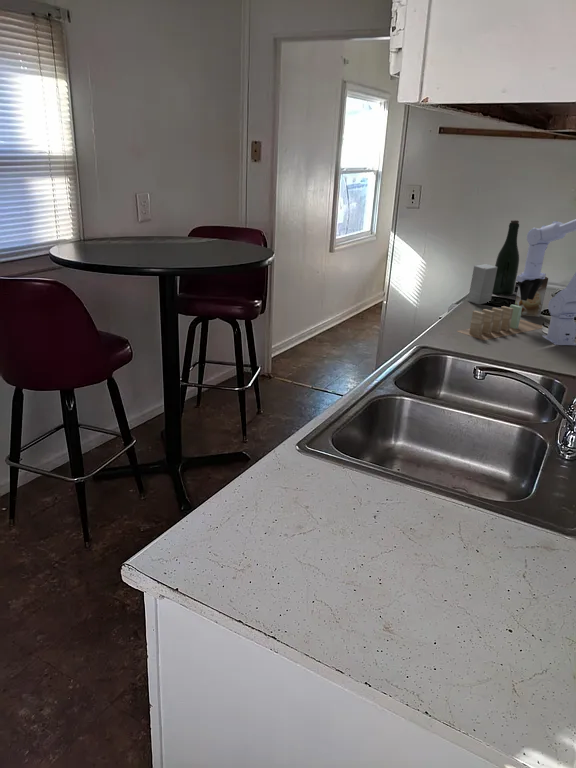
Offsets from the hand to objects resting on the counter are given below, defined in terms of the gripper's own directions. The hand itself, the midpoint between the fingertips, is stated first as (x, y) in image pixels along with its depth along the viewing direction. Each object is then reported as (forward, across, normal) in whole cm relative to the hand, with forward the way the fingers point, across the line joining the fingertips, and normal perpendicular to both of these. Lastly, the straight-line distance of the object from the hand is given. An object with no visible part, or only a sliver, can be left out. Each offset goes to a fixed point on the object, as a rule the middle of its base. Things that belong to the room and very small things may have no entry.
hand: (526, 299), depth 220 cm
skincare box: (+11, -18, -34) cm, 39 cm away
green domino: (+10, +6, 0) cm, 11 cm away
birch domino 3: (+10, +16, 0) cm, 19 cm away
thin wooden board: (+10, +11, 0) cm, 15 cm away
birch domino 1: (+10, +27, 0) cm, 28 cm away
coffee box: (+11, -17, -10) cm, 22 cm away
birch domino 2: (+10, +21, 0) cm, 24 cm away
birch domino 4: (+10, +11, 0) cm, 15 cm away
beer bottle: (+11, -43, -41) cm, 60 cm away
